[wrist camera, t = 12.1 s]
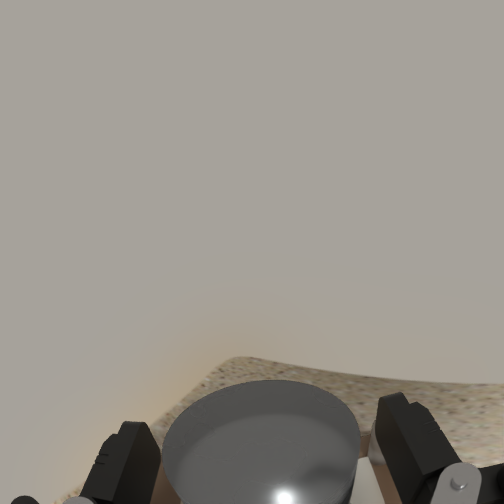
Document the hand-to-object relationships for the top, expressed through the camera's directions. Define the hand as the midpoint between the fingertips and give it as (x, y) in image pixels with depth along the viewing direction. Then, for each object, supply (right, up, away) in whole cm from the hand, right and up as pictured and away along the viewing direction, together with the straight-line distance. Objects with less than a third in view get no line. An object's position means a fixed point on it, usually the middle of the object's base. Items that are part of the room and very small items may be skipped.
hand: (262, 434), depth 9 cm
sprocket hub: (+1, -8, 0) cm, 8 cm away
